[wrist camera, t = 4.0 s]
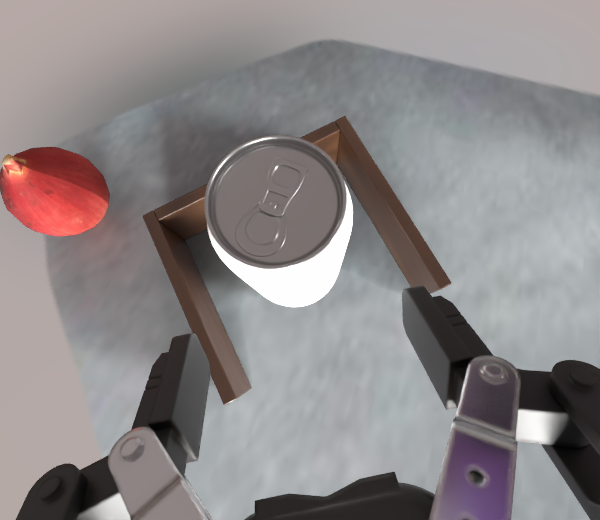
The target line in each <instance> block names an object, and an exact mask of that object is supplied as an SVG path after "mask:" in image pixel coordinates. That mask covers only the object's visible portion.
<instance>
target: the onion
mask: <svg viewBox="0 0 600 520" xmlns="http://www.w3.org/2000/svg"><path fill="white" fill-rule="evenodd" d="M2 165H3V168H2V169H1V171H0V192H1V195H2V198H3V201H4V204H5V206H6V208H7V210H8V211H9V212H11V213H12V214H13V215H14V216H15V217H16V218H17V219H19V221H20V222H22V223H23V224H24V225H25V226H26V227H28V228H30V229H32V230H34V231H36V232H40V233H44V234H47V235H51V236H70V235H77V234H80V233H82V232H84V231H87V230H89V229H91V228H93V227H95V226H96V225H97V224H98V223H99V222H100V221H101V220H102V219H103V217H104V215H105V213H106V211H107V209H108V207H109V196H110V194H109V191H108V187H107V185H106V182H105V179H104V177H103V175H102V174H101V173H100V172H99V171H98V170H97V168H96V167H95V166H94V165H93V164H92V163H91V162H90V161H89V160H88V159H86V158H84V157H82V156H81V155H79V154H76V153H73V152H70V151H67V150H64V149H61V148H57V147H41V148H31V149H28V150H26V151H23V152H20V153H18V154H16V155H14V156H11V155H9V154H8V155H6V156H5V157H4V159H3V162H2Z"/></svg>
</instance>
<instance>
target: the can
mask: <svg viewBox="0 0 600 520" xmlns="http://www.w3.org/2000/svg"><path fill="white" fill-rule="evenodd" d="M204 211H205V217H206V221H207V228H208V233H209V237H210V240H211V243H212V245H213V247H214V249H215V251H216V253H217V254H218V256H219V257H220V259H221V260H222V261H223V262H224V263H225V265H226V266H227V267H228V268H229V269H230V270H231V271H233V272H234V273H235V274H236V275H237V276H238V277H240V278H241V279H242V280H243V281H245V282H246V283H247V284H248V285H250V286H251V287H252V288H253V289H255V290H256V291H257V292H259V293H260V294H261V295H262V296H264V297H265V298H267V299H268V300H270V301H272V302H274V303H276V304H279V305H283V306H288V307H301V306H306V305H309V304H312V303H314V302H316V301H318V300H319V299H321V298H322V297H323V296H324V295H325V294H327V292H328V291H329V290H330V289H331V288H332V286H333V284H334V283H335V280H336V278H337V276H338V273H339V270H340V267H341V264H342V261H343V258H344V255H345V251H346V248H347V245H348V241H349V238H350V234H351V229H352V223H353V207H352V201H351V196H350V193H349V190H348V188H347V186H346V184H345V182H344V180H343V177H342V174H341V172H340V170H339V168H338V167H337V165H336V164H335V162H334V161H333V160H332V159H331V157H330V156H329V155H328V154H327V153H326V152H324V151H323V150H322V149H321V148H319V147H318V146H316V145H314V144H313V143H311V142H309V141H306V140H304V139H301V138H298V137H294V136H288V135H268V136H262V137H258V138H255V139H252V140H249V141H247V142H245V143H243V144H241V145H239V146H238V147H236V148H235V149H233V150H232V151H231V152H229V153H228V154H227V155H226V156H225V157H224V158H223V159H222V160H221V161H220V162H219V164H218V165H217V166H216V168H215V169H214V171H213V173H212V175H211V177H210V179H209V181H208V184H207V187H206V192H205V198H204Z"/></svg>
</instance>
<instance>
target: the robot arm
mask: <svg viewBox="0 0 600 520" xmlns="http://www.w3.org/2000/svg"><path fill="white" fill-rule="evenodd" d="M402 308H403V324H404V328H405V331H406V334H407V336H408V338H409V340H410V342H411V344H412V346H413V347H414V349H415V351H416V353H417V355H418V357H419V359H420V361H421V363H422V365H423V366H424V368H425V370H426V372H427V374H428V376H429V378H430V380H431V382H432V383H433V385H434V387H435V389H436V391H437V393H438V395H439V397H440V399H441V400H442V402H443V404H444V406H445V408H446V410H447V409H452V408H456V407H457V413H456V417H455V418H454V420H453V423H452V427H451V431H450V435H449V439H448V443H447V447H446V451H445V455H444V460H443V464H442V468H441V472H440V476H439V480H438V484H437V488H436V493H435V495H434V494H433V493H431V492H429V491H427V490H425V489H423V488H420V487H417V486H414V485H411V484H406V483H398V481H397V478H396V475H395V472H391V473H386V474H381V475H376V476H371V477H367V478H362V479H359V480H357V481H355V482H353V483H352V484H350V485H348V486H346V487H344V488H342V489H340V490H338V491H337V492H335V493H333V494H331V495H329V496H325V497H321V496H310V495H299V494H285V495H280V496H276V497H271V498H266V499H261V500H256V501H255V513H254V514H252V515H250V516H249V517H247V518H246V519H244V520H511V514H512V503H513V491H514V480H515V469H516V457H517V441H521V442H529V443H537V444H541V445H542V446H543V448H544V449H545V451H546V452H547V454H548V455H549V457H550V458H551V460H552V461H553V463H554V464H555V466H556V468H557V469H558V471H559V472H560V474H561V475H562V477H563V478H564V480H565V481H566V483H567V484H568V486H569V487H570V489H571V490H572V492H573V493H574V495H575V497H576V498H577V500H578V501H579V503H580V504H581V506H582V507H583V509H584V510H585V512H586V513H587V515H588V516H589V518H590V519H591V520H600V369H598V368H597V367H595V366H593V365H591V364H588V363H585V362H581V361H576V360H565V361H561V362H559V363H557V364H555V366H554V367H553V369H552V372H543V371H529V370H521V369H516V368H515V367H514V366H513V365H512V364H511V363H509V362H508V361H506V360H504V359H502V358H499V357H496V356H494V355H493V354H492V353H491V352H490V351H489V349H488V348H487V347H486V345H485V344H484V343H483V342H482V340H481V339H480V338H479V336H478V335H477V334H476V333H475V331H474V330H473V329H472V327H471V326H470V325H469V324H467V321H466V320H465V318H464V317H463V316H462V315H461V314H460V312H459V311H458V309H457V308H456V307H455V306H454V304H453V303H451V302H450V301H448V300H447V299H445V298H443V297H442V296H437V297H432V296H431V295H430V293H429V292H428V291H427V289H426V288H425V287H424V286H417V287H413V288H408V289H403V291H402ZM209 381H210V365H209V361H208V359H207V357H206V354H205V352H204V350H203V348H202V346H201V344H200V342H199V340H198V337H197V335H196V334H195V333H191V334H186V335H181V336H176V337H174V338H173V339H172V342H171V345H170V349H169V352H167V353H162V354H161V355H160V357H159V358H158V359H157V361H156V362H155V363H154V365H153V366H152V369H151V372H150V375H149V380H148V381H147V384H146V387H145V389H146V390H145V391H144V393H143V396H142V399H141V402H140V405H139V408H138V411H137V414H136V417H135V420H134V423H133V426H132V429H131V431H129V432H127V433H126V434H124V435H123V436H122V437H121V438H120V439H119V440H118V441H117V442H116V443H115V445H114V446H113V448H112V449H111V451H110V454H109V455H108V456H106V457H105V458H103V459H101V460H99V461H97V462H95V463H93V464H91V465H89V466H87V467H85V468H83V469H81V470H79V469H78V468H77V467H76V466H75V465H73V464H62V465H59V466H57V467H55V468H53V469H51V470H50V471H48V472H47V473H46V474H44V475H43V476H42V477H41V478H40V479H39V480H38V481H37V482H36V483H35V484H34V486H33V487H32V488H31V490H30V491H29V493H28V495H27V497H26V499H25V501H24V503H23V505H22V507H21V510H20V512H19V514H18V516H17V518H16V520H213V519H212V518H211V516H210V514H209V513H208V511H207V510H206V508H205V507H204V505H203V503H202V502H201V500H200V499H199V497H198V495H197V494H196V492H195V491H194V489H193V487H192V486H191V484H190V483H189V481H188V480H187V478H186V476H185V475H184V473H185V468H186V463H188V462H193V461H197V460H198V456H199V449H200V442H201V436H202V429H203V422H204V415H205V408H206V401H207V394H208V387H209Z"/></svg>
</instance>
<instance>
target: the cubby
mask: <svg viewBox="0 0 600 520" xmlns="http://www.w3.org/2000/svg"><path fill="white" fill-rule="evenodd" d="M301 139H304V140H306V141H309V142H311V143H313V144H314V145H316V146H318V147H319V148H321V149H322V150H323V151H324V152H326V153H327V154H328V155H329V156H330V157H331V159H332V160H333V161H334V162H335V164H336V163H337V165H338V167H339V168H340V170H341V172H342V173H343V175H344V177H345V178H346V180H347V181H348V183H349V185H350V186H351V188H352V190H353V191H354V193H355V195H356V196H357V198H358V200H359V201H360V203H361V205H362V206H363V208H364V210H365V211H366V213H367V215H368V216H369V218H370V219H371V221H372V223H373V224H374V226H375V228H376V229H377V231H378V233H379V234H380V236H381V238H382V239H383V241H384V243H385V244H386V246H387V248H388V249H389V251H390V252H391V254H392V256H393V257H394V259H395V261H396V262H397V264H398V266H399V267H400V269H401V271H402V272H403V274H404V276H405V277H406V279H407V281H408V282H409V284H410V286H411V287H412V288H413V287H417V286H424V287H425V288H426V289H427V291H428V292H429V293H433V292H435V291H438V290H440V289H442V288H444V287H446V286H448V285H450V284H451V281H450V280H449V278H448V277H447V275H446V273H445V272H444V270H443V269H442V267H441V266H440V264H439V263H438V261H437V259H436V258H435V256H434V255H433V253H432V252H431V250H430V248H429V247H428V245H427V244H426V242H425V241H424V239H423V237H422V236H421V234H420V233H419V231H418V230H417V228H416V226H415V225H414V223H413V222H412V220H411V219H410V217H409V215H408V214H407V212H406V211H405V209H404V208H403V206H402V204H401V203H400V201H399V200H398V198H397V197H396V195H395V193H394V192H393V190H392V189H391V187H390V186H389V184H388V182H387V181H386V179H385V178H384V176H383V175H382V173H381V171H380V170H379V168H378V167H377V165H376V164H375V162H374V160H373V159H372V157H371V156H370V154H369V153H368V151H367V149H366V148H365V146H364V145H363V143H362V142H361V140H360V138H359V137H358V135H357V134H356V132H355V131H354V129H353V127H352V126H351V124H350V123H349V121H348V120H347V118H346V116H344V117H342V118H340V119H338V120H336V121H335V122H332V123H330V124H328V125H326V126H324V127H321V128H319V129H317V130H315V131H313V132H311V133H309V134H307V135H305V136H303V137H301ZM206 187H207V184H206V185H204V186H202V187H200V188H198V189H196V190H194V191H192V192H190V193H188V194H186V195H184V196H182V197H180V198H178V199H176V200H174V201H172V202H170V203H168V204H166V205H163V206H161V207H159V208H157V209H155V210H154V211H151V212H149V213H147V214H145V215H143V218H144V221H145V223H146V225H147V228H148V230H149V232H150V234H151V237H152V239H153V241H154V244H155V246H156V248H157V251H158V253H159V255H160V258H161V260H162V262H163V265H164V267H165V269H166V272H167V274H168V276H169V279H170V281H171V283H172V286H173V288H174V290H175V293H176V295H177V297H178V300H179V302H180V304H181V306H182V309H183V311H184V313H185V316H186V318H187V320H188V323H189V325H190V327H191V330H192V332H193V333H195V334H196V335H197V337H198V340H199V342H200V344H201V346H202V348H203V350H204V352H205V354H206V357H207V359H208V361H209V365H210V374H211V376H212V378H213V381H214V383H215V385H216V388H217V390H218V392H219V395H220V397H221V399H222V402H223V404H224V405H227V404H229V403H230V402H232V401H234V400H236V399H237V398H239V397H240V396H241V395H243V394H244V393H245V392H247V391H248V390H249V389H251V385H250V383H249V380H248V378H247V376H246V374H245V372H244V369H243V367H242V365H241V363H240V361H239V358H238V356H237V354H236V352H235V350H234V347H233V345H232V343H231V341H230V339H229V336H228V334H227V332H226V330H225V328H224V325H223V323H222V321H221V319H220V317H219V314H218V312H217V310H216V308H215V306H214V303H213V301H212V299H211V297H210V295H209V292H208V290H207V288H206V286H205V284H204V281H203V279H202V277H201V275H200V273H199V270H198V268H197V266H196V264H195V262H194V259H193V257H192V255H191V253H190V251H189V248H188V246H187V244H186V242H185V240H186V239H188V238H190V237H192V236H194V235H196V234H198V233H200V232H202V231H204V230H206V229H208V228H207V221H206V217H205V211H204V198H205V192H206ZM184 239H185V240H184Z"/></svg>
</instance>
